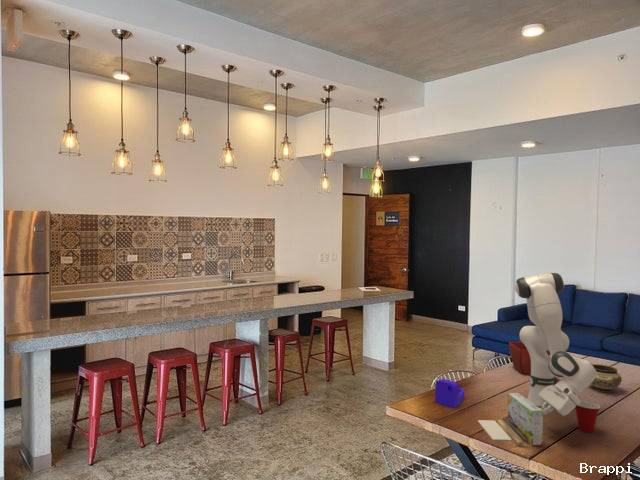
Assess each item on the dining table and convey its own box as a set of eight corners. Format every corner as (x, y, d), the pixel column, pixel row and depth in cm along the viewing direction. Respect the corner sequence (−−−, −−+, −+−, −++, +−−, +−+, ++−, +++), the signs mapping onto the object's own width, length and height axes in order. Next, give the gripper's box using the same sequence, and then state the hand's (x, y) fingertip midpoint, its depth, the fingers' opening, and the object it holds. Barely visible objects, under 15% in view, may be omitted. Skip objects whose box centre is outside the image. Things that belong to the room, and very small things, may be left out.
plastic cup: (600, 428, 218) (601, 402, 218) (598, 436, 209) (599, 409, 209) (573, 422, 224) (574, 397, 224) (571, 430, 215) (571, 404, 215)
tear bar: (505, 423, 221) (505, 417, 221) (526, 446, 198) (526, 439, 198) (497, 423, 221) (497, 417, 221) (517, 446, 198) (518, 439, 198)
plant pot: (550, 377, 293) (551, 350, 293) (519, 376, 293) (520, 349, 293) (536, 368, 312) (537, 342, 312) (507, 367, 312) (508, 341, 312)
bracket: (454, 408, 240) (454, 385, 239) (435, 402, 248) (435, 379, 247) (471, 399, 252) (472, 377, 252) (453, 394, 260) (453, 372, 260)
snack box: (506, 425, 220) (507, 392, 220) (518, 424, 221) (519, 392, 220) (530, 446, 199) (531, 410, 199) (543, 445, 200) (544, 410, 199)
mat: (494, 421, 224) (494, 420, 224) (511, 440, 204) (511, 439, 204) (477, 421, 224) (477, 420, 224) (492, 440, 204) (492, 439, 204)
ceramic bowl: (614, 403, 258) (623, 378, 256) (578, 388, 268) (587, 364, 265) (616, 391, 278) (625, 367, 276) (583, 377, 288) (591, 354, 286)
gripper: (549, 378, 220) (527, 398, 220) (572, 393, 199) (548, 416, 199) (558, 388, 220) (536, 408, 220) (583, 404, 199) (558, 427, 199)
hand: (542, 412), depth 209 cm, fingers closed
